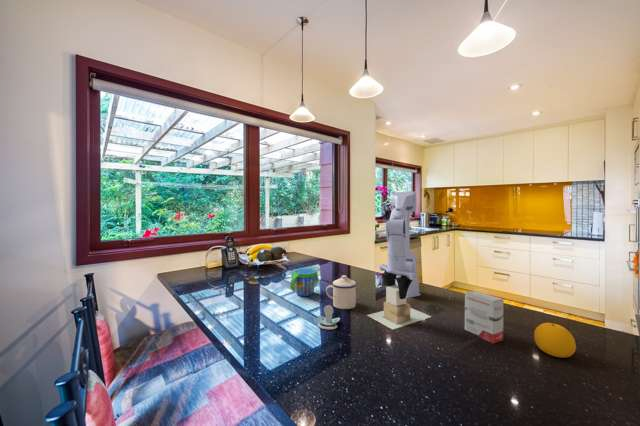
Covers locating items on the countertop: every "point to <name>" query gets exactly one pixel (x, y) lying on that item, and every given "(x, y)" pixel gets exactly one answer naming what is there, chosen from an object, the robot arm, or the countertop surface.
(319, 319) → the pacifier
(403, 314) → the oak block
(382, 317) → the plate
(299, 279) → the snack cup
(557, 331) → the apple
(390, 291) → the cream block
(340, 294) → the teacup with lid
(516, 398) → the countertop surface
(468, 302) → the ink box
